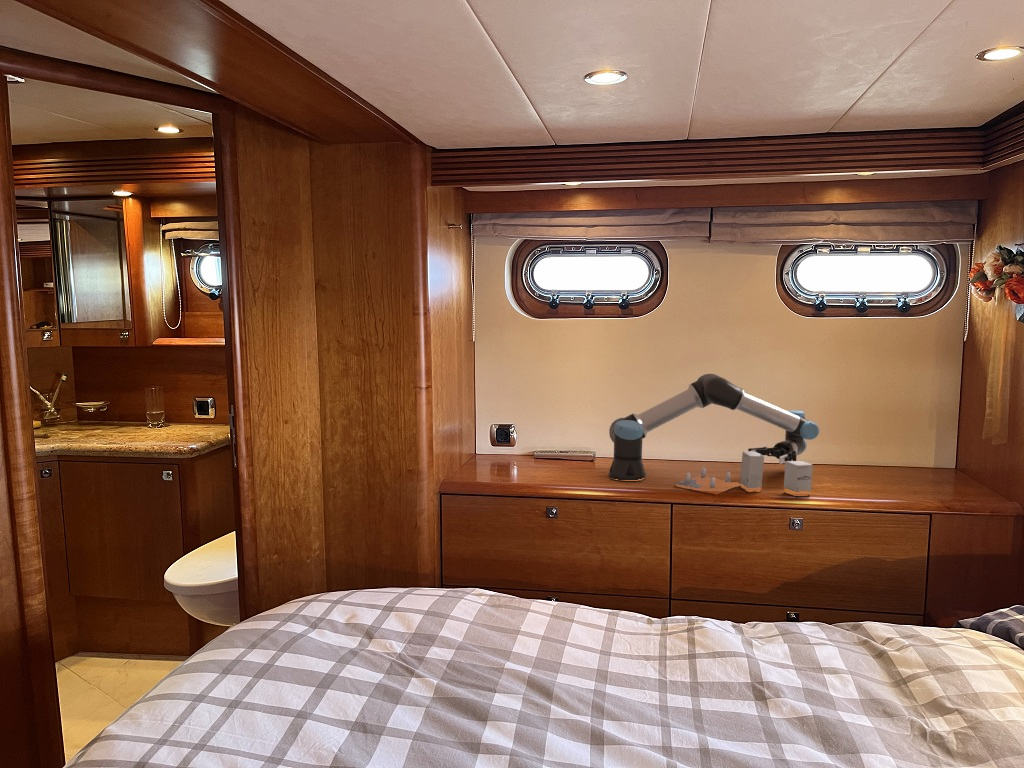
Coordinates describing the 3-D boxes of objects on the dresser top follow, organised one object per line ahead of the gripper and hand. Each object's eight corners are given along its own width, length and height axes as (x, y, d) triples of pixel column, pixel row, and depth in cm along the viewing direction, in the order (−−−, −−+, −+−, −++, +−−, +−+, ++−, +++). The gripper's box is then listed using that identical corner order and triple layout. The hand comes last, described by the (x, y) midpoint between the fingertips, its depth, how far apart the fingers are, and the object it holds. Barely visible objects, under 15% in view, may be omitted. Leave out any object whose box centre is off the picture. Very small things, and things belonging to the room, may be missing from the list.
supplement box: (794, 497, 283) (796, 465, 281) (782, 492, 290) (784, 461, 288) (811, 496, 285) (813, 464, 283) (799, 491, 292) (801, 460, 290)
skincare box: (739, 487, 297) (740, 450, 296) (753, 487, 298) (755, 450, 296) (747, 492, 289) (749, 455, 287) (762, 492, 290) (764, 455, 288)
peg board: (674, 486, 297) (675, 473, 297) (699, 478, 312) (699, 465, 311) (716, 495, 285) (717, 481, 284) (739, 485, 300) (740, 472, 299)
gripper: (814, 463, 307) (794, 471, 292) (756, 454, 324) (734, 462, 308) (815, 445, 306) (794, 453, 291) (757, 437, 323) (734, 444, 307)
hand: (763, 457), depth 299 cm, fingers open, 13 cm apart
